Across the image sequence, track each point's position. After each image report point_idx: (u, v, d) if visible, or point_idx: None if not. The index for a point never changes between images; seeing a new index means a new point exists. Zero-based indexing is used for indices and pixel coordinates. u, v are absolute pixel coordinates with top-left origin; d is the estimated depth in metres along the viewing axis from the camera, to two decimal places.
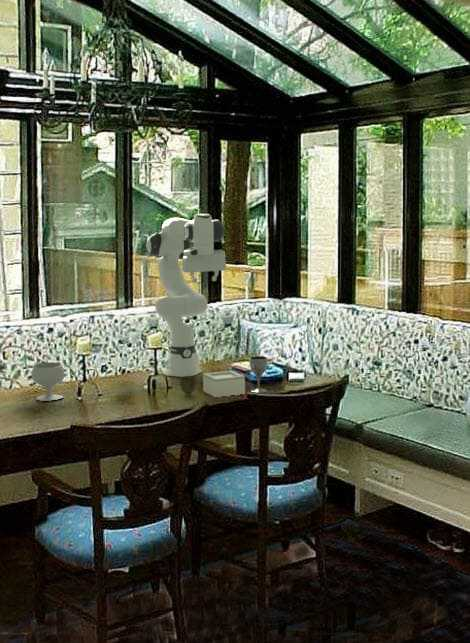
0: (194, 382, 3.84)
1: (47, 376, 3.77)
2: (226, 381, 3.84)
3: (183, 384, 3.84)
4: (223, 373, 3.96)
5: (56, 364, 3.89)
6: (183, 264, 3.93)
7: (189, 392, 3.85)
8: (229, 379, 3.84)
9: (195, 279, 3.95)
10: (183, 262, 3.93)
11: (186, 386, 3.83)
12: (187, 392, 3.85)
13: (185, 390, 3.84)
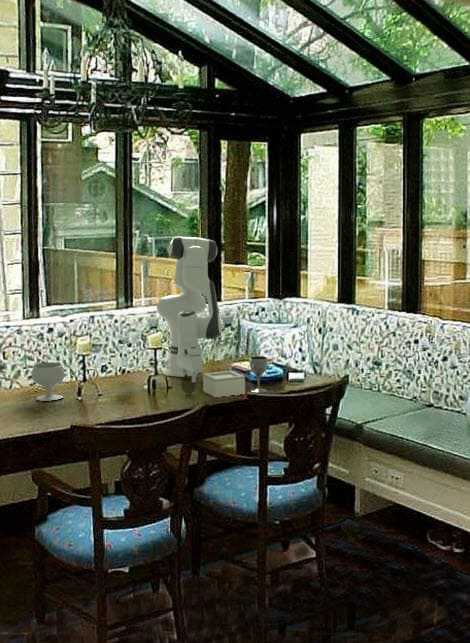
0: (195, 383, 3.84)
1: (47, 376, 3.77)
2: (226, 381, 3.84)
3: (184, 384, 3.83)
4: (223, 373, 3.96)
5: (56, 364, 3.89)
6: (196, 364, 3.76)
7: (189, 392, 3.85)
8: (229, 379, 3.84)
9: None
10: (197, 363, 3.76)
11: (187, 387, 3.83)
12: (187, 392, 3.85)
13: (185, 390, 3.84)
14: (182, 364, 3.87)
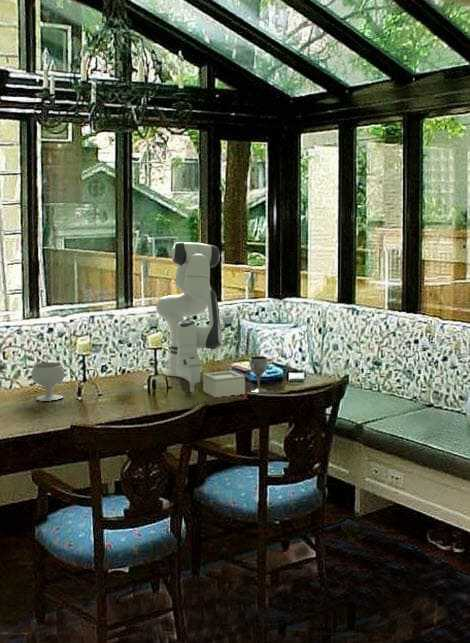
0: None
1: (47, 376, 3.77)
2: (226, 381, 3.84)
3: (183, 384, 3.84)
4: (223, 373, 3.96)
5: (56, 364, 3.89)
6: (195, 375, 3.77)
7: (189, 392, 3.85)
8: (229, 379, 3.84)
9: None
10: (195, 373, 3.77)
11: (186, 386, 3.83)
12: (187, 392, 3.85)
13: (185, 390, 3.84)
14: (181, 374, 3.88)
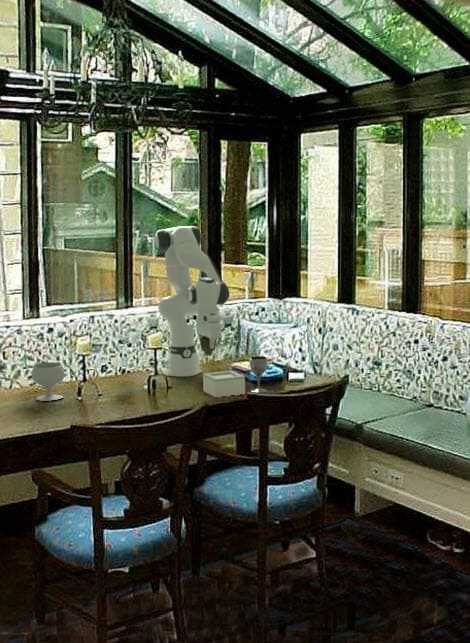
0: None
1: (47, 376, 3.77)
2: (226, 381, 3.84)
3: (203, 343, 3.84)
4: (223, 373, 3.96)
5: (56, 364, 3.89)
6: (215, 331, 3.77)
7: (209, 351, 3.85)
8: (229, 379, 3.84)
9: None
10: (215, 329, 3.77)
11: (207, 345, 3.83)
12: (207, 351, 3.85)
13: (205, 349, 3.84)
14: (201, 331, 3.88)
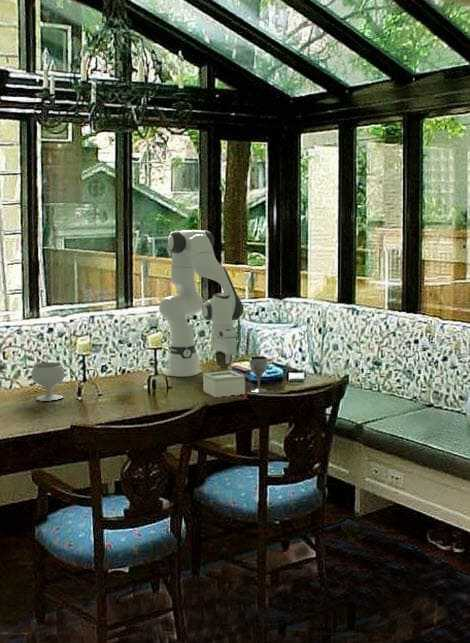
0: None
1: (47, 376, 3.77)
2: (226, 381, 3.84)
3: (219, 358, 3.87)
4: (223, 373, 3.96)
5: (56, 364, 3.89)
6: (231, 346, 3.79)
7: (225, 366, 3.88)
8: (229, 379, 3.84)
9: None
10: (231, 345, 3.80)
11: (222, 361, 3.86)
12: (223, 366, 3.88)
13: (221, 364, 3.87)
14: (216, 346, 3.91)
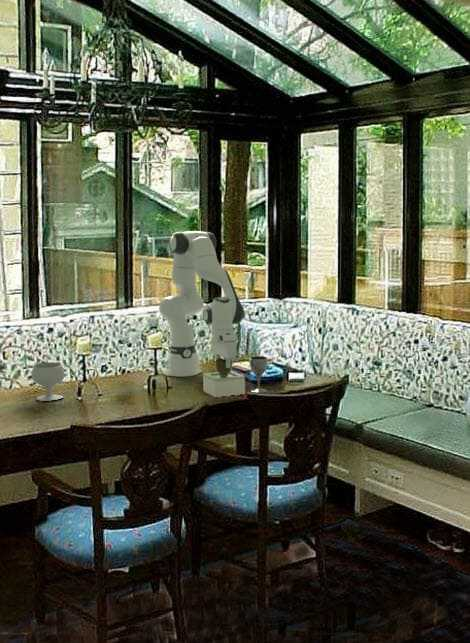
0: (230, 363, 3.88)
1: (47, 376, 3.77)
2: (226, 381, 3.84)
3: (219, 365, 3.87)
4: None
5: (56, 364, 3.89)
6: (231, 350, 3.80)
7: (225, 373, 3.89)
8: (229, 379, 3.84)
9: None
10: (231, 349, 3.80)
11: (223, 367, 3.87)
12: (223, 373, 3.88)
13: (221, 371, 3.88)
14: (216, 350, 3.91)
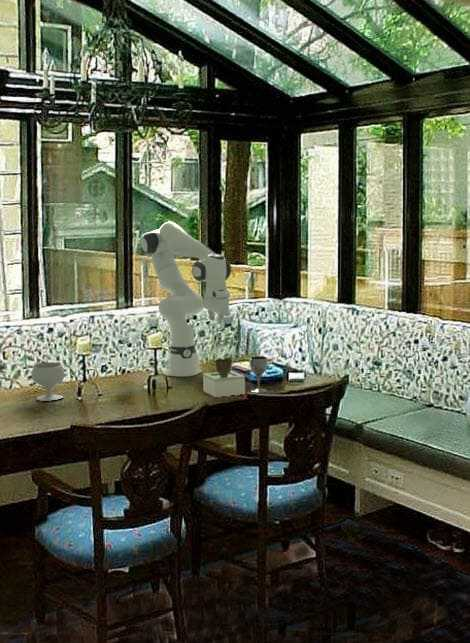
0: (230, 363, 3.88)
1: (47, 376, 3.77)
2: (226, 381, 3.84)
3: (219, 365, 3.87)
4: None
5: (56, 364, 3.89)
6: (224, 307, 3.85)
7: (225, 373, 3.88)
8: (229, 379, 3.84)
9: None
10: (224, 305, 3.85)
11: (222, 368, 3.87)
12: (223, 373, 3.88)
13: (221, 371, 3.88)
14: (209, 306, 3.96)
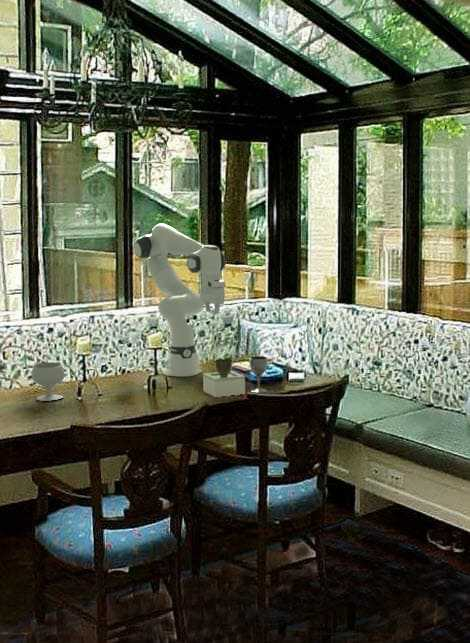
0: (230, 363, 3.88)
1: (47, 376, 3.77)
2: (226, 381, 3.84)
3: (219, 365, 3.87)
4: None
5: (56, 364, 3.89)
6: (219, 296, 3.87)
7: (225, 373, 3.88)
8: (229, 379, 3.84)
9: None
10: (220, 294, 3.87)
11: (223, 368, 3.87)
12: (223, 373, 3.88)
13: (221, 371, 3.88)
14: (205, 297, 3.99)
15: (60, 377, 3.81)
